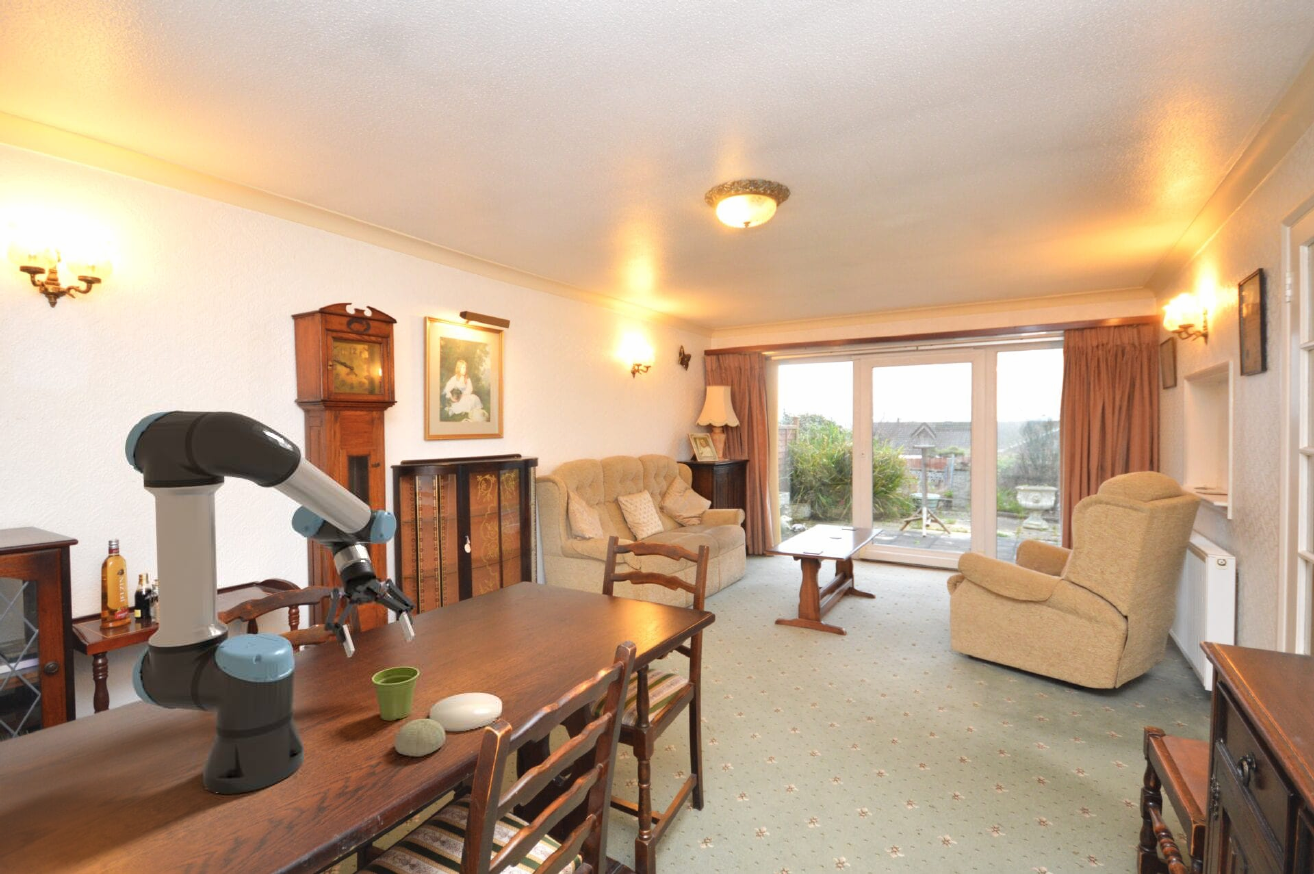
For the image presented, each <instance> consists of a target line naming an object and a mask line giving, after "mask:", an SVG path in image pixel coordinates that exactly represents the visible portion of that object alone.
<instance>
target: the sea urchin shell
mask: <svg viewBox="0 0 1314 874" xmlns="http://www.w3.org/2000/svg"><path fill="white" fill-rule="evenodd" d="M446 739H447V736H446V731H445V730H444V728H443V727H442V726H441V725H440V724H439V723H437V722H436V721H435V720H432V719H430V718H417V719H414V720H410V721H409V722H407V723H405V724H404V725H403V726H402V727H401V728H400V730H399V731H398V733H397V734H396V736H395V738H394V749H395V750H396V752H397V753H398V754H400V755H401V754H402V755H404V756H409V757H410V758H411V757H412V756H413V757H418V758H419V757H424V756H425V755H426V756H427V755H430V754H432V753H433V752H435V751H437V750H439V748H441V747H442V746H443V745H444V743H445V742H446Z"/></svg>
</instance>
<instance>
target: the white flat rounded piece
mask: <svg viewBox="0 0 1314 874" xmlns="http://www.w3.org/2000/svg"><path fill="white" fill-rule="evenodd" d="M429 710H430V711H429V719H432V720H435V721H436V722H437V723H439V724H440V725H441V726H442V727H443V728H444V731H445V732H464V731H465V732H466V731H467V730H468V731H471V730H470V729H473V730H476V729H475V728H477V729H479V728H478V727H481V728H483V726H484V727H486V726H488V725H491V724H493V723H494V722H496V721H497V720H498V719H495V718H497V717H499V716H500V717H501V715H502V713H503V702H502V700H501V699H500V698H499V697H498V696H496V695H493V694H490V693H485V692H466V693H459V694H455V695H452V696H447V697H446V698H443V699H441V700H439V701H438V702H436V703H435V704H433V705H432V707H430V709H429ZM500 717H499V718H500ZM493 721H494V722H493ZM468 731H467V732H468Z"/></svg>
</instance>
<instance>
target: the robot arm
mask: <svg viewBox="0 0 1314 874" xmlns="http://www.w3.org/2000/svg"><path fill="white" fill-rule="evenodd" d="M124 453H125V457H126V461H127V462H128V464H129V465H130V466H132V467H133V469H134V470H135V471H136V472H138V473H140V474H141V475H142V477H143V489H144V490H146V491H147V492H148V493H150V494H151V495H152V496H153V497H154V504H155V508H154V509H155V532H156V533H155V535H156V538H155V539H156V567H157V569H156V570H157V571H156V572H157V600H158V601H157V602H158V604H157V606H158V629H157V630H156V631H155V632H154V633H153V634H152V635H150V637H149V638H148V641H147V642H148V643H147V644H148V646H146V647H145V648H144V649H143V650H142V652H141V653H140V655H139V659H138V660H137V661H135V663H134V665H133V669H132V675H131V679H132V680H131V683H132V687H133V690H134V692H135V693H136V695H137V697H138V698H140V699H141V700H142V701H143V702H144V703H147V704H149V705H152V706H158V707H161V708H163V709H169V710H174V709H175V710H176V709H178V710H179V709H181V710H190V711H191V710H192V711H199V712H200V711H202V712H212V713H215V714H216V715H215V723H216V724H215V725H216V727H215V739H214V741H213V744H212V746H211V749H210V752H209V755H208V756H207V759H206V762H205V765H204V767H203V776H202V777H203V778H202V779H203V780H202V781H203V783H204V784H203V783H202V784H203V787H204V786H205V787H204V788H205V789H206V788H207V789H208V790H210V791H212V792H211V793H213V792H218V793H221V794H220V795H235V794H242V793H243V792H244V793H248V792H252V791H256V790H260V789H264V788H267V787H269V786H272V785H274V784H277V783H278V782H281V781H283V780H285V779H286V778H288V777H290V776H292V775H293V774H294V773H296V772H297V770H298V769H300V767H301V766H302V764H303V763H304V759H305V747H304V744H303V740H302V739H301V736H300V733H299V731H298V729H297V725H296V723H295V720H294V692H295V691H294V688H295V667H296V666H295V665H296V664H295V658H294V649H293V646H292V643H291V641H290V640H288V638H285V637H284V636H281V635H278V634H274V633H273V634H272V633H264V632H263V633H262V632H260V633H257V634H254V633H245V634H240V635H235V636H233V637H229V625H228V624H226V623H225V622H223V621H222V620H220V619H219V618H218V617H219V616H218V613H219V612H218V579H217V578H218V576H217V574H218V573H217V572H218V571H217V536H216V534H217V533H216V532H217V529H216V498H215V497H216V493H217V491H218V490H220V488H221V487H223V485H224V484H225V477H226V478H227V477H228V478H229V477H230V478H237V479H242V480H247V481H250V482H252V483H254V484H256V485H257V486H259V487H261V488H265V489H270V488H273V489H275V490H277V491H279V492H280V493H281V494H283V495H285V496H286V497H288V498H290V499H291V500H293V501H295V502H296V503H297V504H299V505H301V506H299V507H297V509H296V510H295V511H294V512H293V515H292V518H291V527H292V529H293V530H294V532H296V533H297V534H300V535H301V536H302V537H303V538H307V539H308V540H311V541H314V542H316V543H318V544H319V545H322V546H324V547H326V548H328V549H329V550H330V554H331V556H332V560H333V562H334V565H335V569H336V571H337V574H338V578H339V581H340V584H341V587H342V588H343V589H339V588H338V587H334V588H333V589H332V591H331V593H330V595H329V597H330V605H329V608H328V613H327V617H326V620H325V624H324V628H323V630H324V631H325V632H329V631H332V634H335V636H336V640H337V642H338V644H343V647H344V651H345V653H346V656H347V658H352V657H353V655H354V653H355V651H356V650H355V647H354V646H355V645H354V644H353V641H352V637H351V634H350V630H349V628H348V625H347V624H344V623H345V621H346V619H347V617H348V615H349V614H350V612H351V610H352V609H353V607H354V605H358V606H361V605H364V604H371V603H373V602H374V603H375V604H380V605H382V606H383V607H385V608H387V609H388V610H390V611H392V612H394V613H396V614H397V615H399V617H398V620H399V623H400V625H401V628H402V631H403V633H404V636H405V638H406V641H407V643H409V642H412V640H413V639H414V638H415V632H414V629H413V627H412V625H413V624H414V621H413V618H412V615H411V613H412V612H413V610H414V609H415V608H416V604H415V602H413V601H412V600H411V599H410V598H409V597H408V596H407V595H406V594H405V593H404V592H403V591H402V590H400V589H399V588H398V587H397V586H396V585H395V583H394V581H393V580H392V579H391V578H387V579H386V580H385V581H382V582H380V581H379V580H378V578H377V575H376V572H375V569H374V567H373V564H372V561H371V558H370V556H369V552H368V550H367V548H366V545H365V544H371V545H375V544H386V543H388V542H390V541H391V540H392V538H393V537H394V535H395V533H396V530H397V519H396V516H395V515H394V513H393V512H392V511H387V510H383V509H379V510H376V509H374V508H372V507H370V506H369V505H368V504H366V503H365V502H364V501H363V500H361V499H359V498H358V497H357V496H356V495H354V494H353V493H352V492H350V491H349V490H348V489H346V488H345V487H343V486H342V485H341V484H339V482H337V481H335V480H334V479H333V478H332V477H330V476H329V475H328V474H326V473H325V472H324V471H322V470H321V469H319V468H318V467H317V466H316V465H314V464H313V463H311V462H310V461H309V460H307V459H306V458H305V457H303V453H302V450H301V449H300V447H299V446H298V445H296V444H295V443H294V442H293V441H292V440H290V439H289V438H287V437H286V436H285V435H283V434H281V432H278V431H277V430H275V429H273V428H272V427H270V426H268V425H266V424H265V423H263V422H261V421H259V420H257V419H255V418H252V417H249V416H247V415H244V414H241V413H237V412H233V411H223V410H222V411H219V410H218V411H198V410H197V411H194V410H193V411H189V410H187V411H184V410H178V409H177V410H171V411H170V410H169V411H161V412H155V413H151V414H149V415H147V416H144V417H143V418H141V419H140V421H139V422H138V423H136V424H135V425H134V426H133V427H132V428H131V430H130V431H129V433H128V435H127V437H126V439H125V444H124ZM382 589H383V590H382ZM342 596H343V597H345V598H346V599H347V600H349V601H348V603H347V605H346V606H345V608H344V609H343V611H342V613H341V615H340V616H339V618H338V620H337V621H336V622H335V621H334V620H335V617H336V613H337V609H338V605H339V602H340V600H341V599H342V598H343V597H342ZM343 624H344V625H343ZM207 789H206V790H207ZM208 790H207V791H208ZM210 791H209V792H210ZM241 792H242V793H241ZM218 793H217V794H218ZM222 793H223V794H222Z"/></svg>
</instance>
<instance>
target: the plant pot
mask: <svg viewBox="0 0 1314 874" xmlns="http://www.w3.org/2000/svg"><path fill="white" fill-rule="evenodd" d="M419 676H420V671H419V669H418V668H415V667H412V666H397V667H390V668H387V669H383V670H381V671H378V672H376V673H375V674H374V675H372V677H371V682H372V683H373V684H374V688H375V691H376V695H377V702H378V708H379V715H380V718H381V720H384V721H389V722H390V721H393V722H394V721H395V720H397V719H404V718H406V717H408V716H409V715H411V713H412V709H413V701H414V699H413V698H414V693H415V686H416V682H417V680H418V677H419Z"/></svg>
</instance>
